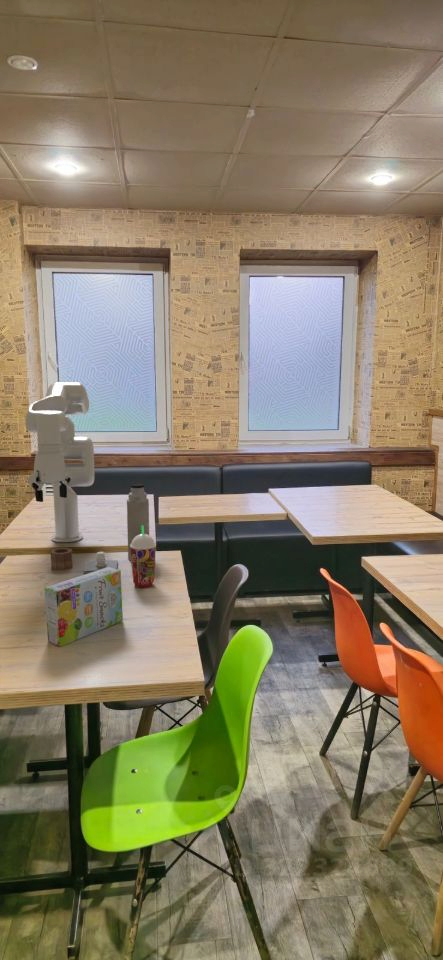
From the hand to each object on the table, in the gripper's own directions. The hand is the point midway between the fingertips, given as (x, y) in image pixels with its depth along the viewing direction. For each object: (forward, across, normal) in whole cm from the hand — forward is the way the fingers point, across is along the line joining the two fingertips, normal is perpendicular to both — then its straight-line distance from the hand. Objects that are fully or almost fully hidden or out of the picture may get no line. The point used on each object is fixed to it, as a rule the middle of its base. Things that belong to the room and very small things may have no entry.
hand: (51, 499), depth 205 cm
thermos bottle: (+26, -30, +11) cm, 41 cm away
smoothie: (+26, -10, +34) cm, 44 cm away
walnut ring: (+26, -5, -2) cm, 26 cm away
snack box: (+27, +25, +47) cm, 60 cm away
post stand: (+26, -12, +10) cm, 30 cm away
